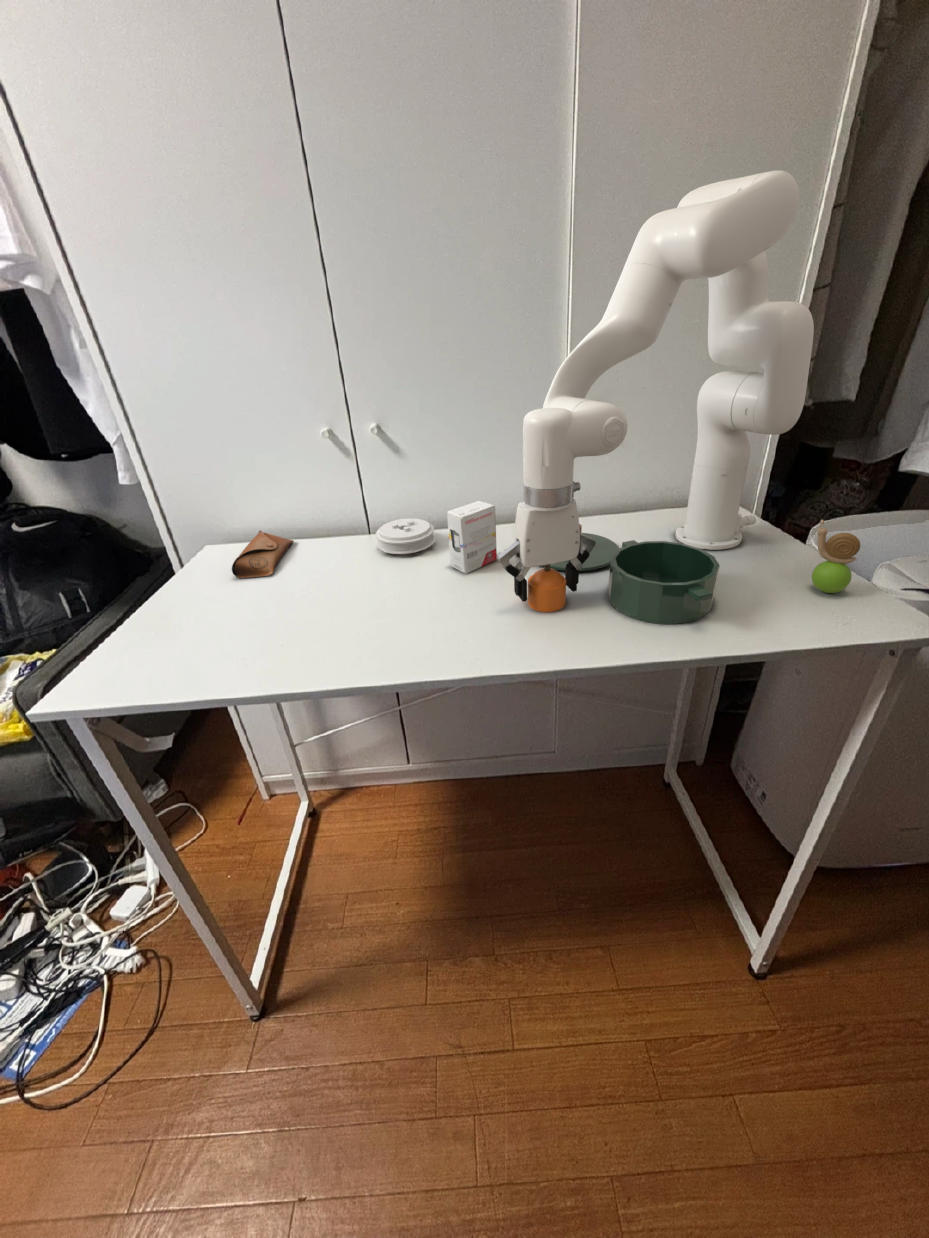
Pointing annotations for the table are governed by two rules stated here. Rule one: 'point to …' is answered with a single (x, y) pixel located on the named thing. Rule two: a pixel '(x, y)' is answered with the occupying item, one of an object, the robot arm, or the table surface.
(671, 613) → the crock
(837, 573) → the snail figurine
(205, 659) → the table surface
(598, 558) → the crock lid
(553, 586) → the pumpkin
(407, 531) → the white flat cylinder
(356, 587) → the table surface
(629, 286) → the robot arm
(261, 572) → the sunglasses case
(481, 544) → the ink box
